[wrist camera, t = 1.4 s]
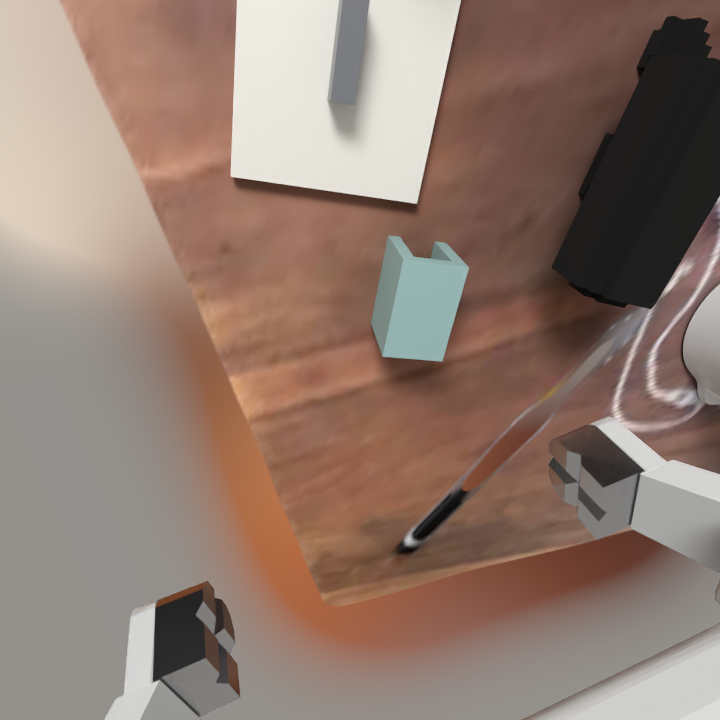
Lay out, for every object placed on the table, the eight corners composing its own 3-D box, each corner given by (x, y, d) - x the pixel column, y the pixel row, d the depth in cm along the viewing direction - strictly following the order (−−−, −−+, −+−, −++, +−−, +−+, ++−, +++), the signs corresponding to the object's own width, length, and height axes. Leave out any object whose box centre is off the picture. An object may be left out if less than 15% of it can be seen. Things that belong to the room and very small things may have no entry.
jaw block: (445, 242, 41) (468, 267, 36) (424, 328, 45) (442, 361, 40) (388, 235, 40) (403, 259, 35) (371, 323, 44) (382, 356, 39)
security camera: (710, 38, 36) (843, 29, 28) (590, 273, 45) (662, 322, 36) (632, 7, 34) (747, -14, 26) (522, 257, 43) (582, 304, 34)
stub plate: (477, -97, 30) (498, -115, 27) (413, 200, 39) (424, 211, 36) (244, -161, 28) (240, -189, 25) (232, 174, 36) (227, 183, 33)
